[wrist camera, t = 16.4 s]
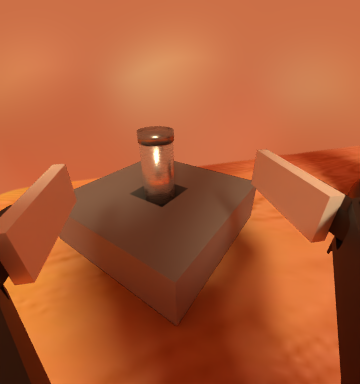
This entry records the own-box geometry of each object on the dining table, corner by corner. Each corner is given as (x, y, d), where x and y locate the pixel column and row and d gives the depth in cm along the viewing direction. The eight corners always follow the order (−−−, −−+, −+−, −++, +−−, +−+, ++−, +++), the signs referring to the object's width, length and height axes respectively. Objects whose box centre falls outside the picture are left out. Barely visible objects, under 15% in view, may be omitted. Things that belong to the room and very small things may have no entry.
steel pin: (160, 214, 33) (153, 125, 26) (181, 223, 31) (180, 128, 24) (141, 228, 30) (128, 131, 23) (164, 240, 28) (157, 136, 21)
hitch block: (155, 183, 42) (153, 155, 39) (250, 215, 32) (257, 181, 29) (60, 238, 28) (45, 201, 25) (176, 326, 18) (175, 282, 15)
